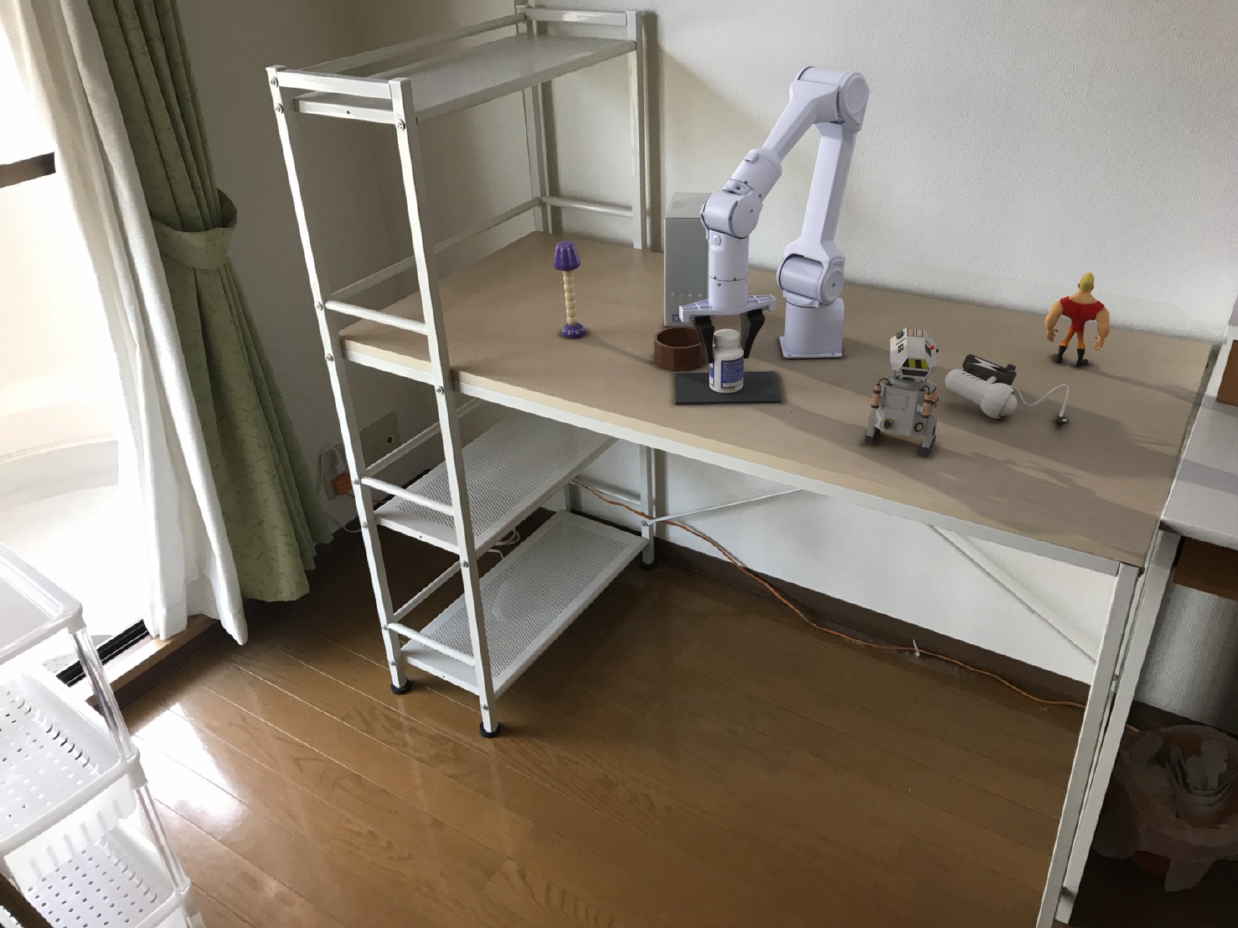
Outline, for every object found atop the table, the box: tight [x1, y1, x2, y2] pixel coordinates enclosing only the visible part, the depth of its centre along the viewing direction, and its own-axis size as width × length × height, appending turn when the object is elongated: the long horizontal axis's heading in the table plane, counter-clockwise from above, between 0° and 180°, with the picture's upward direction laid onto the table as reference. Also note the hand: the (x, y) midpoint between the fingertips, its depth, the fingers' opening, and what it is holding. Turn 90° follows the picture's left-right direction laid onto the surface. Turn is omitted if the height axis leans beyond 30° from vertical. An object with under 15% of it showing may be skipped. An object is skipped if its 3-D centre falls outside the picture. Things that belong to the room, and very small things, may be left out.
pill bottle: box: [708, 328, 745, 393], centre depth 153 cm, size 5×5×9 cm
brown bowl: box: [653, 326, 707, 371], centre depth 164 cm, size 9×9×4 cm
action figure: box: [1044, 272, 1111, 368], centre depth 155 cm, size 10×4×15 cm, turn 59°
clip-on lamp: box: [944, 353, 1071, 425], centre depth 145 cm, size 12×6×18 cm
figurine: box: [863, 327, 942, 456], centre depth 137 cm, size 9×12×15 cm
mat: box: [674, 370, 782, 405], centre depth 155 cm, size 16×10×1 cm, turn 88°
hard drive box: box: [663, 191, 713, 328], centre depth 177 cm, size 16×8×20 cm, turn 171°
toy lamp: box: [552, 240, 586, 339], centre depth 171 cm, size 5×5×17 cm
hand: (726, 358), depth 153 cm, fingers closed on pill bottle, 5 cm apart
